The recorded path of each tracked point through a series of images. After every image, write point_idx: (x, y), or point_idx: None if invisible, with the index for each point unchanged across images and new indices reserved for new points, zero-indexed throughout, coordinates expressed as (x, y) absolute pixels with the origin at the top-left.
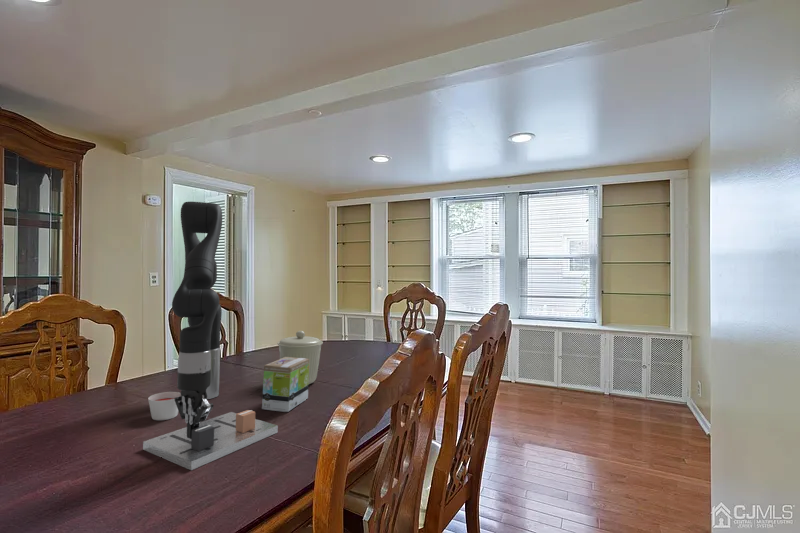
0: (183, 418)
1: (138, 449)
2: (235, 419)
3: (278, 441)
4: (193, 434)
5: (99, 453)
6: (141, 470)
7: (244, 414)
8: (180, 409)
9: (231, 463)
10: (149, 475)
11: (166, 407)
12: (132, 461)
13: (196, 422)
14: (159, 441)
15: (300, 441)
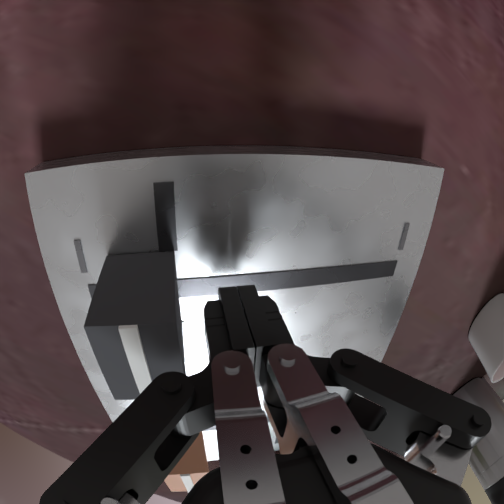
0: (332, 357)
1: (434, 152)
2: None
3: (80, 425)
4: (151, 304)
5: (492, 80)
6: (247, 20)
7: (176, 479)
8: (398, 395)
9: (5, 291)
10: (159, 13)
11: (499, 334)
12: (369, 63)
13: (152, 382)
14: (392, 205)
15: (49, 437)
